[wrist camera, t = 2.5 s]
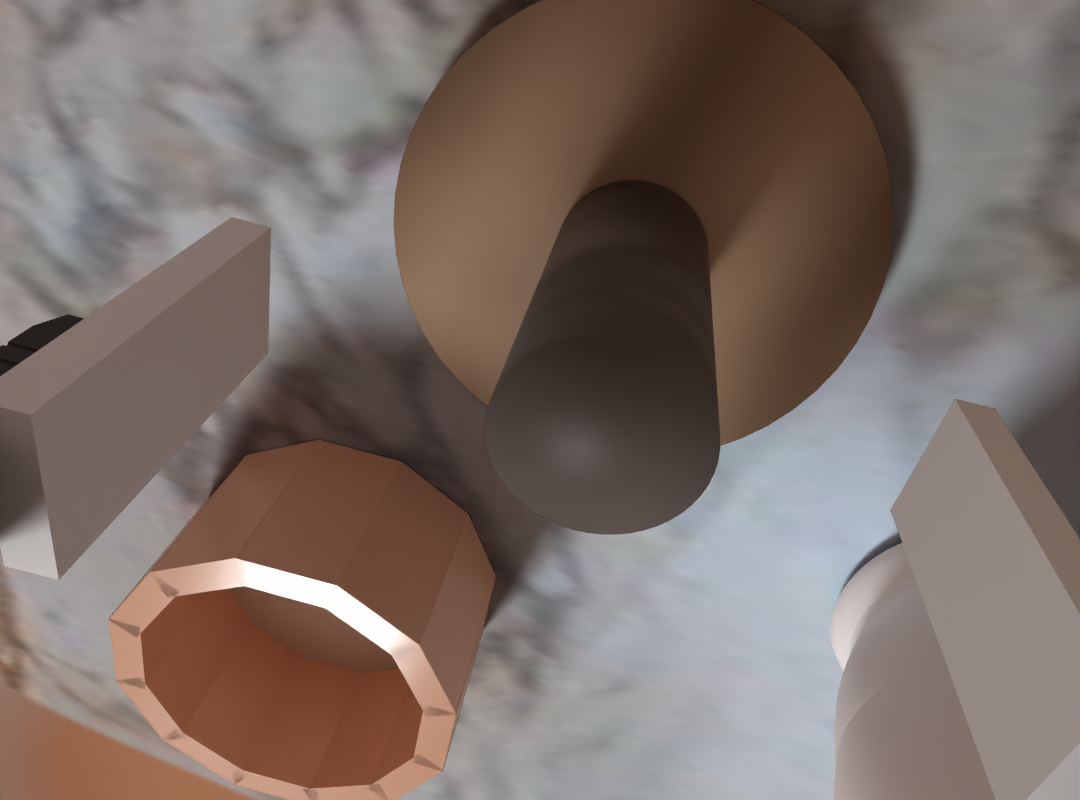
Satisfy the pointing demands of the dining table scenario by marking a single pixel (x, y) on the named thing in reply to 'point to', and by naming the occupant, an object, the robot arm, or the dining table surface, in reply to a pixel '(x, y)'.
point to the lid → (639, 242)
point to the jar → (897, 695)
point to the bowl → (311, 626)
